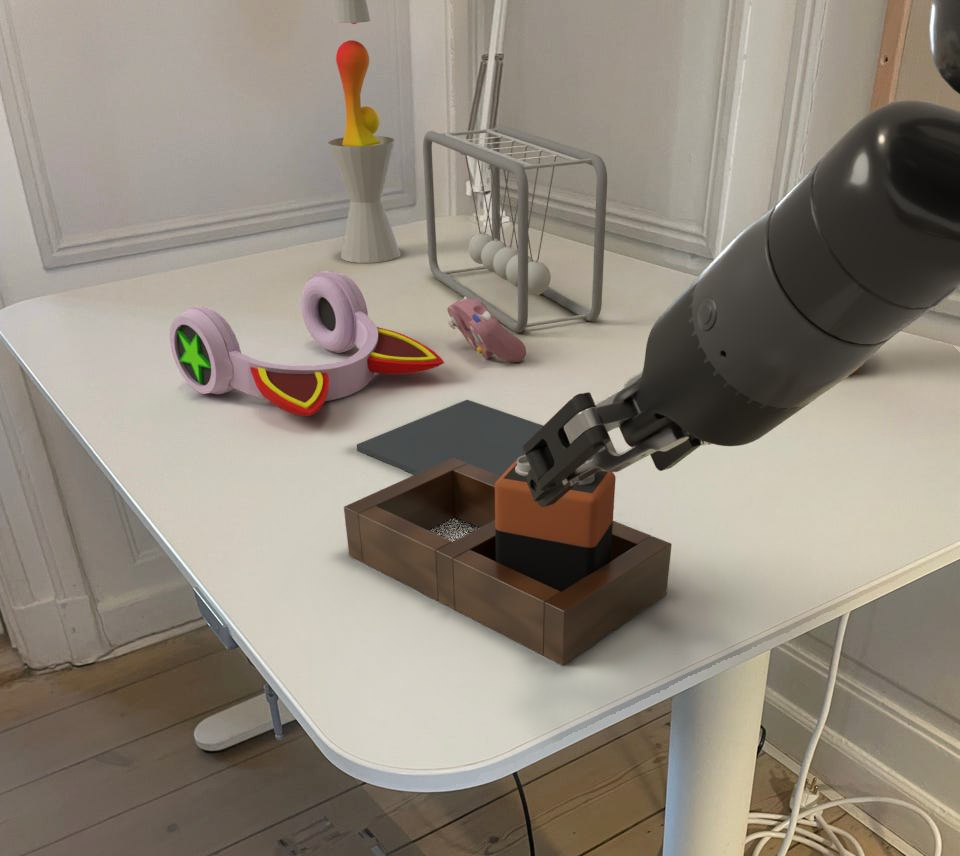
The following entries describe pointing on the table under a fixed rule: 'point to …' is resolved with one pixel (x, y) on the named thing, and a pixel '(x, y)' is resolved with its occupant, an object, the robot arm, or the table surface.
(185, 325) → the headphones
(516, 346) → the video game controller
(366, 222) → the lava lamp
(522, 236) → the newton's cradle
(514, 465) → the battery
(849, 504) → the table surface
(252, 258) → the table surface
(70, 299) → the table surface
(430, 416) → the mat
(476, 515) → the tray
